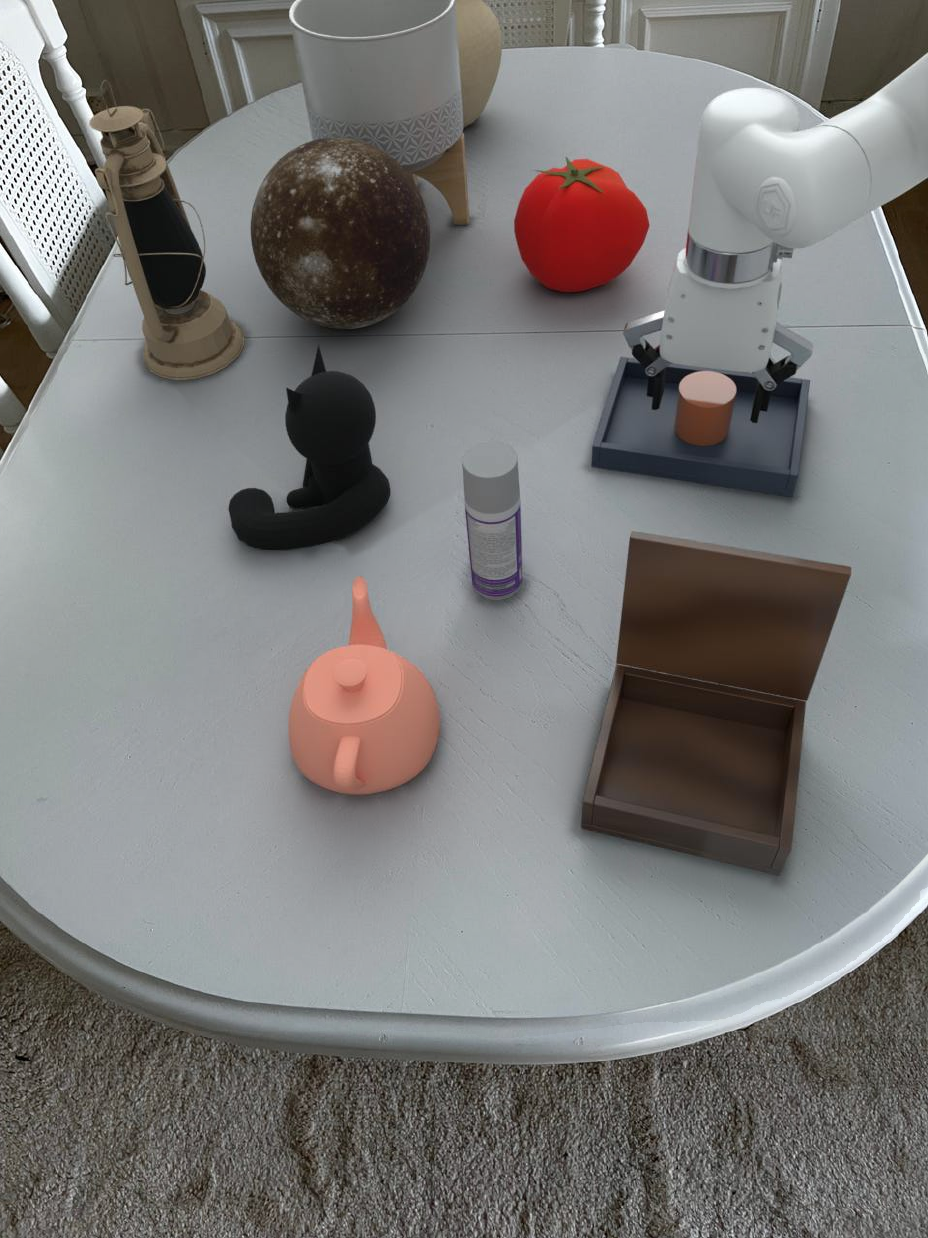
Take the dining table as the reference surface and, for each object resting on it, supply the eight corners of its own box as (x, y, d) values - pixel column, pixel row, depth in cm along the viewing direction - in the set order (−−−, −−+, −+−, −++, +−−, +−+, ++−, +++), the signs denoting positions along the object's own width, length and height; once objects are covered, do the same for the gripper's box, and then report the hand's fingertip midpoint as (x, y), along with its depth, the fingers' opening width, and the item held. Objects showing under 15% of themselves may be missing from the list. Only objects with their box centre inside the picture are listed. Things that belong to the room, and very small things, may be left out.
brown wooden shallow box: (779, 875, 70) (791, 850, 67) (580, 828, 73) (582, 801, 70) (795, 730, 77) (806, 701, 74) (613, 693, 81) (616, 663, 77)
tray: (804, 401, 102) (810, 379, 99) (792, 497, 93) (798, 475, 91) (619, 377, 106) (620, 356, 104) (591, 467, 98) (592, 445, 95)
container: (488, 555, 91) (479, 432, 79) (531, 572, 89) (529, 449, 78) (462, 588, 89) (449, 467, 77) (507, 607, 87) (500, 486, 75)
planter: (457, 261, 122) (439, 37, 102) (313, 257, 125) (268, 38, 105) (479, 185, 134) (467, -30, 114) (347, 183, 137) (312, -28, 116)
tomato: (502, 300, 116) (497, 190, 106) (534, 239, 124) (533, 131, 114) (630, 318, 113) (639, 205, 102) (655, 254, 120) (666, 143, 110)
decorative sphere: (348, 387, 108) (315, 218, 93) (239, 321, 118) (192, 157, 102) (472, 304, 116) (460, 136, 101) (360, 249, 126) (334, 87, 110)
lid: (851, 574, 63) (851, 566, 64) (629, 537, 67) (631, 530, 67) (807, 701, 73) (808, 693, 74) (615, 664, 77) (617, 656, 77)
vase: (457, 86, 154) (440, -148, 130) (527, 119, 145) (523, -126, 122) (372, 123, 148) (339, -116, 124) (440, 160, 139) (419, -90, 116)
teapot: (281, 830, 75) (252, 768, 67) (309, 643, 86) (287, 573, 79) (438, 828, 74) (426, 766, 67) (445, 640, 85) (436, 569, 78)
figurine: (304, 441, 103) (272, 320, 91) (417, 477, 98) (399, 354, 87) (214, 542, 95) (166, 422, 83) (333, 587, 90) (301, 467, 78)
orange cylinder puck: (732, 413, 100) (740, 374, 96) (725, 449, 97) (733, 410, 93) (678, 406, 101) (683, 367, 97) (669, 441, 98) (674, 402, 94)
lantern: (168, 309, 120) (76, 48, 97) (259, 313, 118) (188, 47, 95) (124, 384, 111) (11, 116, 88) (222, 389, 110) (134, 117, 86)
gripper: (837, 235, 84) (798, 395, 97) (637, 218, 88) (626, 373, 101) (832, 284, 79) (792, 444, 93) (621, 263, 83) (612, 420, 97)
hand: (705, 407), depth 97 cm, fingers open, 9 cm apart
